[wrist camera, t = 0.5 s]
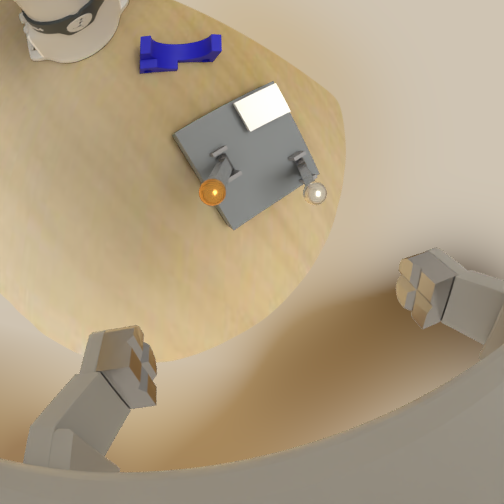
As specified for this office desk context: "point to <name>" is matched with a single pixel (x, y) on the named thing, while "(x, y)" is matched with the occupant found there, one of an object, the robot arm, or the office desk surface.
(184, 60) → the cable clip
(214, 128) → the panel
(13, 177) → the office desk surface
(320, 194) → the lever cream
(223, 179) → the lever orange
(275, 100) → the white rectangular block
